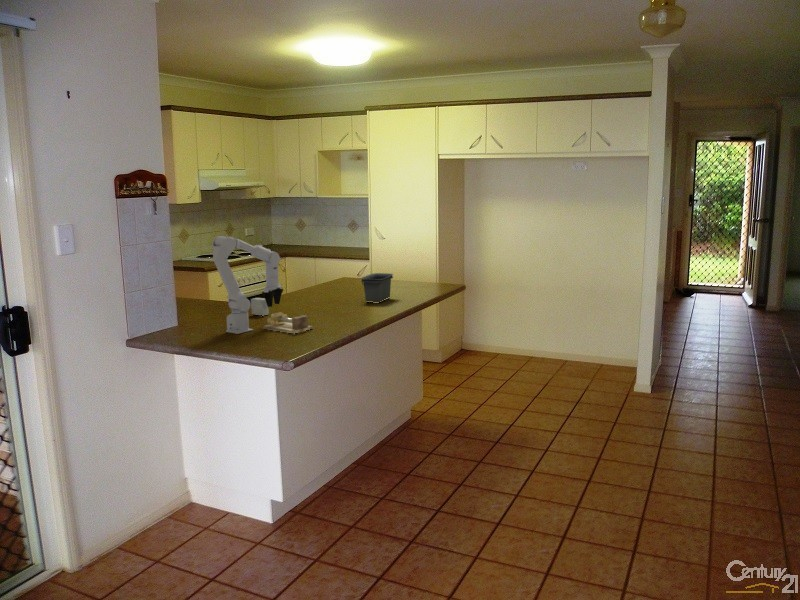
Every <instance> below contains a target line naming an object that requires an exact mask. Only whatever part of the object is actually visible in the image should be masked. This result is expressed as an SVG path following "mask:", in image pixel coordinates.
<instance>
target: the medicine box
mask: <svg viewBox="0 0 800 600" xmlns="http://www.w3.org/2000/svg"><path fill="white" fill-rule="evenodd" d="M250 304H251V306H250V309H251V315H252V314H255V315H262V316H264V315H268V314H269V315H270V311H269V307H268V306H267V303H266V300H265V298H264V297H263V298H262V297H255V298H250ZM269 315H268V316H269ZM262 316H261V317H262ZM264 317H265V316H264Z"/></svg>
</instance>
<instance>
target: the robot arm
mask: <svg viewBox="0 0 800 600" xmlns="http://www.w3.org/2000/svg"><path fill="white" fill-rule="evenodd" d="M211 246H212V252H213V253H212V259H213V263H214V265H215V267H216V269H217V271H218V273H219V276H220V279H221V280H222V283H223V285H224V287H225V289H226V292H227V294H228V295H227V301H228V308H229V309H230V310H231V313H230V314H228V315H226V333H230V334H236V335H238V334H242V333H247V332H250V331H253V330H254V329H253V328H251V327H250V326H249V325H250V324H249V323H250V322H249V310H250V309H251V300H249V299H248V298H247V297H246V295H245V293H244V292H242V290H241V289H240V286H239V284H238V282H237V280H236V278H235V275H234V274H233V270H232V269H231V266H230V264H229V262H228V258H229V256H230V255H231V254H232V252H233V251H234V250H235V249H239V250H242V251H245V252H248V253H250V255H251V257H253V258H256V259H258V260H261V261H263V262H264V263H265V279H266V280H265V282H266V283H265V284H266V286H265V287H264V288H263V291H262V292H261V294H262V296H263V298H265V300H266V303H267V306H268V308H269V307H270V308H272V307H273V303H274V305H280V302H281V297H282V294H283V292H284V288H282V283H279V281H280V279H279V263H280V261H281V256H280V254H279V253H278V252H276V251H271V248H266V247H264V246H263V245H262V244H255V245H252V244H250V243H248V242H246V241H243V240H241V239H239V238H236V237H233V236H222V235H218V236H216V237H214V239H213V241H212V244H211Z"/></svg>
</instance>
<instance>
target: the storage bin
mask: <svg viewBox="0 0 800 600" xmlns="http://www.w3.org/2000/svg"><path fill="white" fill-rule="evenodd" d="M393 276H394V274H393V273H387V272H386V273H384V272H383V273H382V272H379V273H378V272H377V273H376V272H374V273H371V274H368V275H365V276H362V277H361V278H360V279H361V285H362V286H363V290H364V298H365V299H364V301H365V302H366V301H373V302H380V301H382V300H384V299H386V298H388V297H390V298H391V284H392V279H393V278H394V277H393Z"/></svg>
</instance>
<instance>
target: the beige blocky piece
mask: <svg viewBox="0 0 800 600" xmlns="http://www.w3.org/2000/svg"><path fill="white" fill-rule="evenodd" d="M291 319H292V323H288V322H284V324H280V325H272V323H269V324H266V325H263V326H262V330H264V329H267V330H266V331H270V330H273V331H272V332H276V331H280V332H279V333H282V332H287V333H286V334H288V333H294V334H293V335H296V334H295V333H298V332H302V331H306V330H309V331H311V330H310V329H313V330H314V326H313V325H309V316H308V315H299V316H295V317H291ZM306 332H307V331H306ZM302 333H303V332H302ZM298 334H299V333H298Z"/></svg>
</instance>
